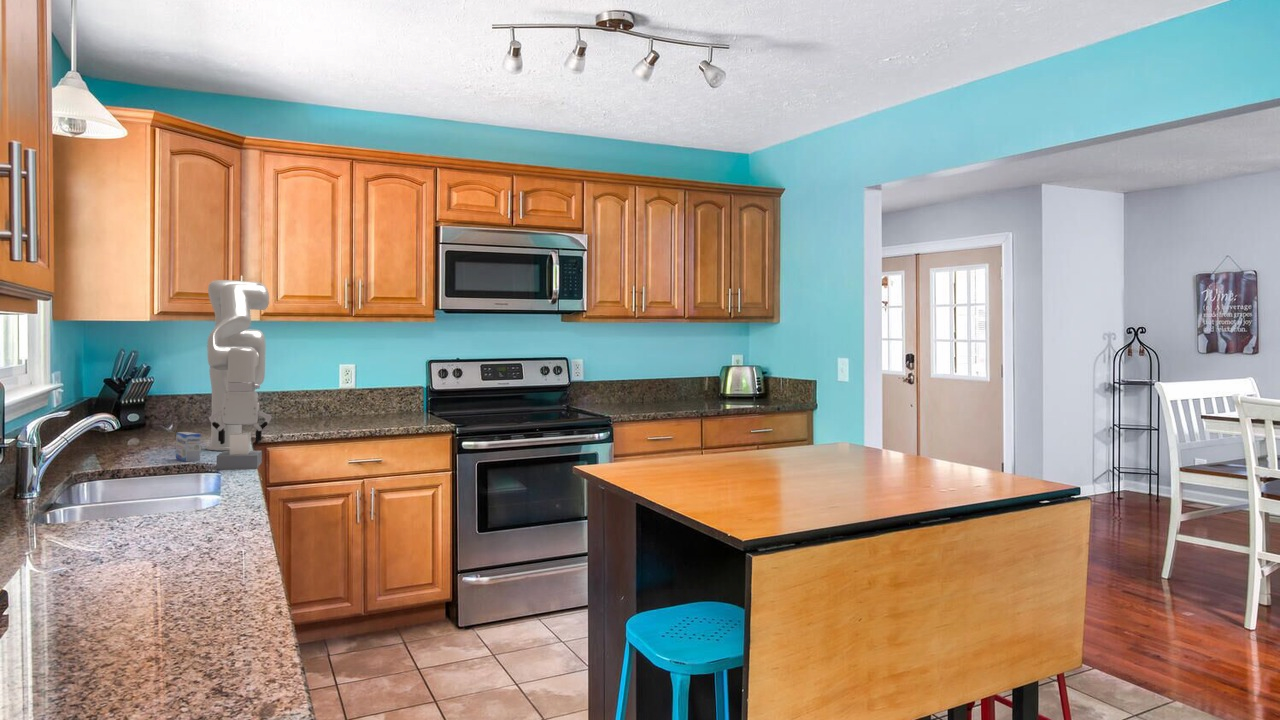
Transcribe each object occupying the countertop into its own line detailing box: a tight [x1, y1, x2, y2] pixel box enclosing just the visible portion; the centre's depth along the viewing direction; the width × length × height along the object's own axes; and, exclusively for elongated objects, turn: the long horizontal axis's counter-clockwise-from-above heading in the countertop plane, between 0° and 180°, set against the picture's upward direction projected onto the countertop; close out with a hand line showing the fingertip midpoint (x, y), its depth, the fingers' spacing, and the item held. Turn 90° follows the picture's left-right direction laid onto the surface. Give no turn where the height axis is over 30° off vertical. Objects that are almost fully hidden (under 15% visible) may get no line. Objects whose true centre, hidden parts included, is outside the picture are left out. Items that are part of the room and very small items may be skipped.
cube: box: [229, 432, 251, 455], centre depth 241 cm, size 5×5×6 cm
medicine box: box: [175, 431, 202, 463], centre depth 251 cm, size 8×4×9 cm, turn 52°
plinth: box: [215, 450, 263, 471], centre depth 241 cm, size 11×11×4 cm
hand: (240, 443), depth 241 cm, fingers open, 9 cm apart
